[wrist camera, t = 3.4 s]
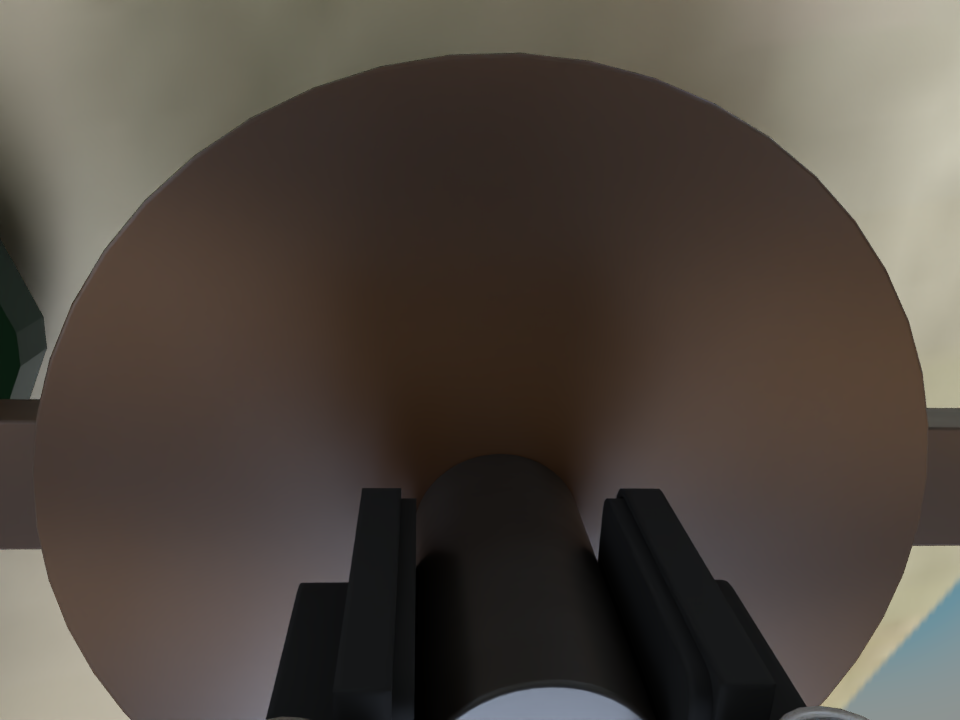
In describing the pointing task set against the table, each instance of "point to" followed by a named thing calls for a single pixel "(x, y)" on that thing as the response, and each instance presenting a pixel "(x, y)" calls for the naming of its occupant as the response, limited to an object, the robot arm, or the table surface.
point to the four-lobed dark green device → (18, 333)
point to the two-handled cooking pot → (12, 525)
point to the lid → (476, 390)
